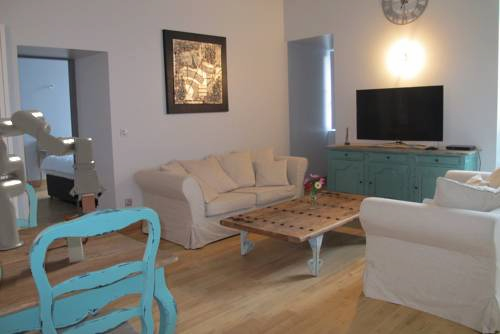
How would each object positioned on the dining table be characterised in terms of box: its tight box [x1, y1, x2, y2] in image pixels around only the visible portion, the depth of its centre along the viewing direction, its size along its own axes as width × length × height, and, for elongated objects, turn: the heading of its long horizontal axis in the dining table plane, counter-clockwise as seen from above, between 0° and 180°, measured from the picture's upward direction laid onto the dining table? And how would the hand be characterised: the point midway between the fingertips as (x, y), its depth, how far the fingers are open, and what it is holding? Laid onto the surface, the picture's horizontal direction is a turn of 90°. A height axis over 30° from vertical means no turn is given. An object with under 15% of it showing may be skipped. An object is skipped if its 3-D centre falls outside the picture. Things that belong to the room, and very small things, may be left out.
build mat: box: [66, 253, 87, 264], centre depth 187 cm, size 9×7×1 cm
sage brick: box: [66, 237, 82, 249], centre depth 186 cm, size 8×5×6 cm, turn 19°
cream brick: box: [67, 243, 84, 264], centre depth 187 cm, size 8×5×6 cm, turn 19°
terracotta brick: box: [82, 193, 96, 213], centre depth 195 cm, size 8×5×6 cm, turn 19°
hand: (89, 207), depth 195 cm, fingers closed on terracotta brick, 5 cm apart
